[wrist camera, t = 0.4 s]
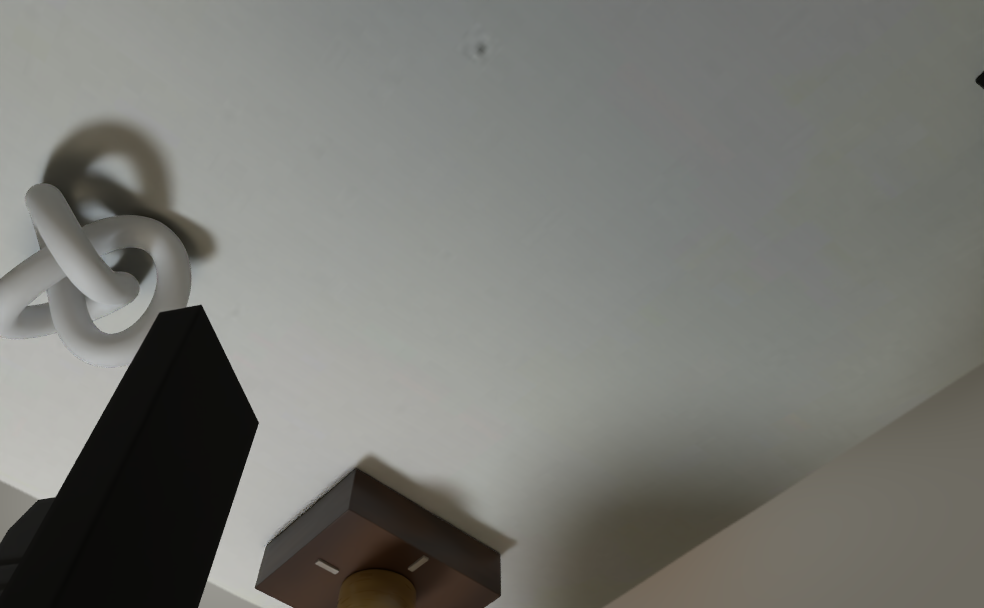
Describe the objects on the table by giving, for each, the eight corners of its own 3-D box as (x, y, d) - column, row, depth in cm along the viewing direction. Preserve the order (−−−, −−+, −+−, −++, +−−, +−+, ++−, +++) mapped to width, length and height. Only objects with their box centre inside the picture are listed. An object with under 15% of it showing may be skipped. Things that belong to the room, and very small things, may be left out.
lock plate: (500, 554, 51) (501, 598, 49) (407, 620, 55) (403, 665, 52) (355, 467, 47) (348, 511, 44) (265, 546, 51) (253, 590, 48)
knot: (220, 202, 38) (180, 272, 33) (189, 336, 42) (150, 415, 37) (43, 145, 36) (-25, 210, 31) (30, 290, 40) (-32, 368, 35)
